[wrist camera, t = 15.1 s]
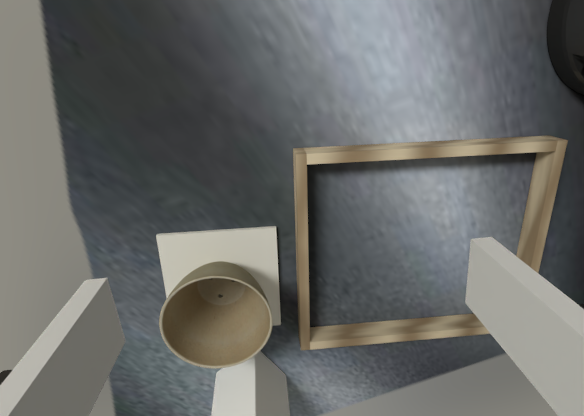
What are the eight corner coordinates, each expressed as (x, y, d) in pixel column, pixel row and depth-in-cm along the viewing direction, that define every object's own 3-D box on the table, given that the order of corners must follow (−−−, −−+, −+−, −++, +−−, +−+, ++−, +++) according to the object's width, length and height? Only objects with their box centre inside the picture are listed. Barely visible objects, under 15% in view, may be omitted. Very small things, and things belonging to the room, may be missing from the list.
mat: (275, 226, 40) (276, 227, 40) (280, 322, 45) (281, 324, 44) (157, 233, 40) (156, 235, 39) (173, 331, 44) (172, 334, 44)
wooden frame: (549, 135, 40) (567, 140, 37) (512, 317, 48) (525, 330, 45) (293, 148, 38) (295, 154, 35) (298, 335, 46) (301, 350, 43)
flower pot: (181, 325, 43) (168, 374, 37) (167, 244, 40) (150, 281, 33) (272, 317, 44) (275, 363, 37) (266, 236, 40) (269, 271, 34)
